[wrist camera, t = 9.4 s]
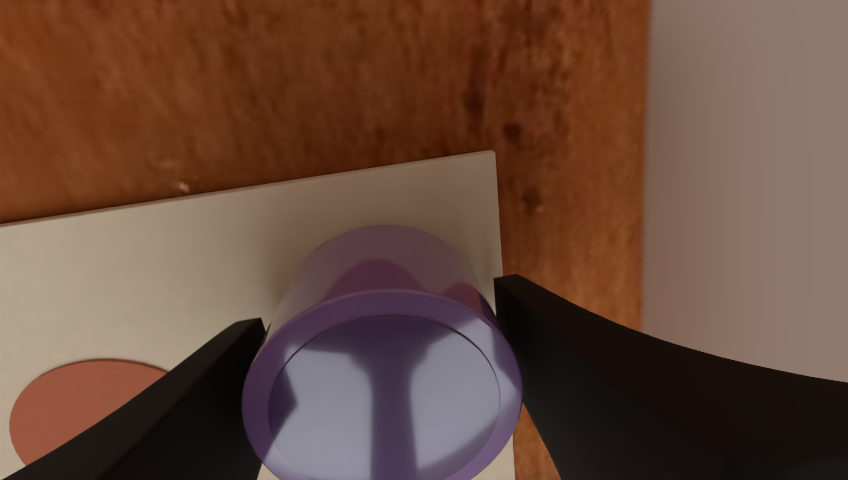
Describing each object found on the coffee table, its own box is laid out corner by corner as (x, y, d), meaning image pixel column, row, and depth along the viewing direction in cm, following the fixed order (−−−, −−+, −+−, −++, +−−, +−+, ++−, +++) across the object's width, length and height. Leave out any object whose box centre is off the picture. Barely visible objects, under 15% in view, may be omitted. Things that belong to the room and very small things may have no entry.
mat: (-125, 630, 14) (-141, 648, 14) (-518, 302, 9) (-568, 314, 9) (514, 503, 16) (518, 515, 15) (491, 149, 10) (496, 151, 10)
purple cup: (404, 406, 13) (415, 541, 9) (251, 328, 11) (184, 453, 7) (514, 283, 11) (581, 380, 8) (359, 175, 10) (347, 230, 6)
